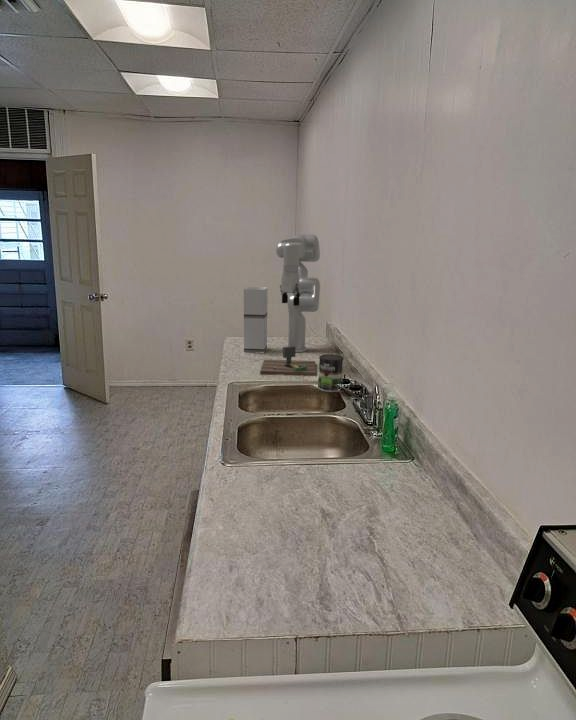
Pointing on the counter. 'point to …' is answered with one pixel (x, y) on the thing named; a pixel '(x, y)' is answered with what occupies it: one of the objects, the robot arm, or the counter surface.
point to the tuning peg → (289, 355)
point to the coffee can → (330, 372)
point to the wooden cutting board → (288, 367)
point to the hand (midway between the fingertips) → (290, 304)
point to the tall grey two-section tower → (255, 319)
